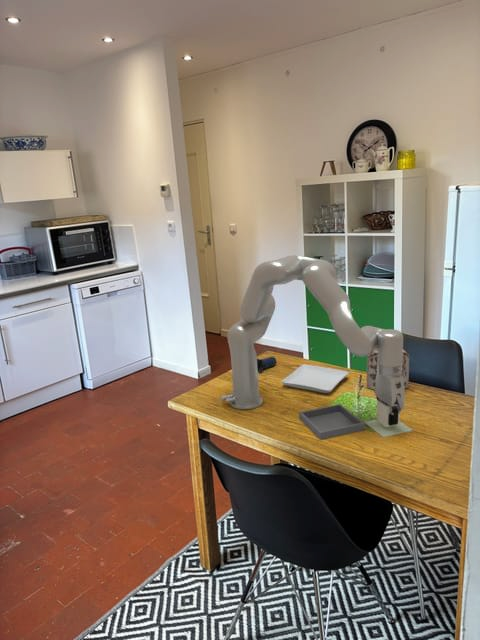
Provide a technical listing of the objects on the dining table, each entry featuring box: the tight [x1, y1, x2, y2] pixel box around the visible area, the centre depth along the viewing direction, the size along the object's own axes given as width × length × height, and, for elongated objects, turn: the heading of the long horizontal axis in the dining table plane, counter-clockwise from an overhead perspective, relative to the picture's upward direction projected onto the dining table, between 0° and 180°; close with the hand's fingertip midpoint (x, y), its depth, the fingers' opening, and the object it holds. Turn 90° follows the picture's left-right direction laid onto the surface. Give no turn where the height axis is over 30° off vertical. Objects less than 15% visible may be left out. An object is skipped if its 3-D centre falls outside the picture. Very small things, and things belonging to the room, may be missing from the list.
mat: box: [363, 418, 414, 438], centre depth 161 cm, size 11×11×1 cm
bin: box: [298, 403, 366, 441], centre depth 164 cm, size 16×16×3 cm
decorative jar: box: [366, 348, 410, 391], centre depth 189 cm, size 12×12×18 cm
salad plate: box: [281, 363, 350, 394], centre depth 200 cm, size 21×21×3 cm
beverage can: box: [257, 356, 278, 374], centre depth 219 cm, size 9×8×12 cm
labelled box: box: [376, 401, 400, 427], centre depth 159 cm, size 5×5×7 cm
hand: (387, 420), depth 160 cm, fingers closed on labelled box, 4 cm apart
